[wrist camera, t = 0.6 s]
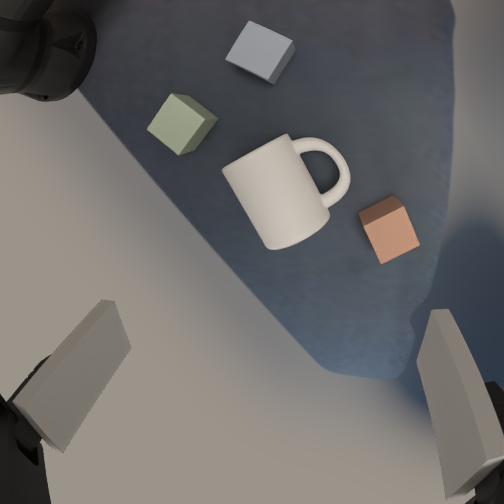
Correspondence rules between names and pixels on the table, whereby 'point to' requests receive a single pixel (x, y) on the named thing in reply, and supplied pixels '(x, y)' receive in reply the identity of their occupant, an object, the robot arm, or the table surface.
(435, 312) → the robot arm
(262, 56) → the slate block
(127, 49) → the table surface
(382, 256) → the terracotta block
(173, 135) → the sage block
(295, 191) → the mug
